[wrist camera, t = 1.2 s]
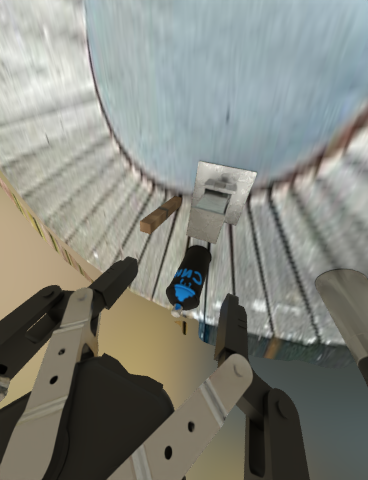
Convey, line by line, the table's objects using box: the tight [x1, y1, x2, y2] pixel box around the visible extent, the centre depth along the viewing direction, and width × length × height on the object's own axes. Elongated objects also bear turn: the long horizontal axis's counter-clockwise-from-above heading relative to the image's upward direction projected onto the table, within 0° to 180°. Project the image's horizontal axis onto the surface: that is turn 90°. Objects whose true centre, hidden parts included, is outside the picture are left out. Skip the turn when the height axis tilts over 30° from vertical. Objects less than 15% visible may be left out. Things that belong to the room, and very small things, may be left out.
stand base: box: [190, 161, 257, 225], centre depth 30 cm, size 12×12×7 cm
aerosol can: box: [166, 245, 212, 317], centre depth 37 cm, size 8×8×20 cm
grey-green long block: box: [186, 189, 229, 244], centre depth 26 cm, size 5×5×16 cm
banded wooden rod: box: [140, 196, 182, 234], centre depth 31 cm, size 2×2×16 cm
